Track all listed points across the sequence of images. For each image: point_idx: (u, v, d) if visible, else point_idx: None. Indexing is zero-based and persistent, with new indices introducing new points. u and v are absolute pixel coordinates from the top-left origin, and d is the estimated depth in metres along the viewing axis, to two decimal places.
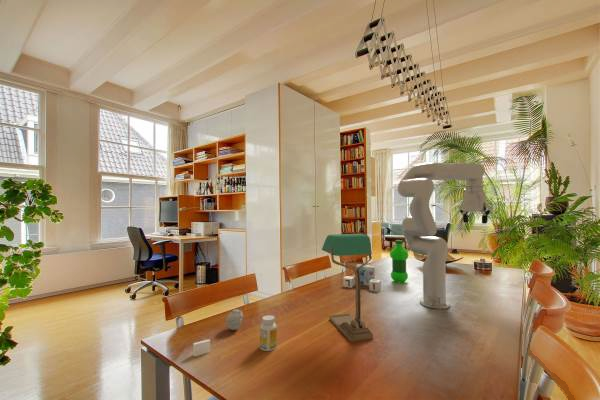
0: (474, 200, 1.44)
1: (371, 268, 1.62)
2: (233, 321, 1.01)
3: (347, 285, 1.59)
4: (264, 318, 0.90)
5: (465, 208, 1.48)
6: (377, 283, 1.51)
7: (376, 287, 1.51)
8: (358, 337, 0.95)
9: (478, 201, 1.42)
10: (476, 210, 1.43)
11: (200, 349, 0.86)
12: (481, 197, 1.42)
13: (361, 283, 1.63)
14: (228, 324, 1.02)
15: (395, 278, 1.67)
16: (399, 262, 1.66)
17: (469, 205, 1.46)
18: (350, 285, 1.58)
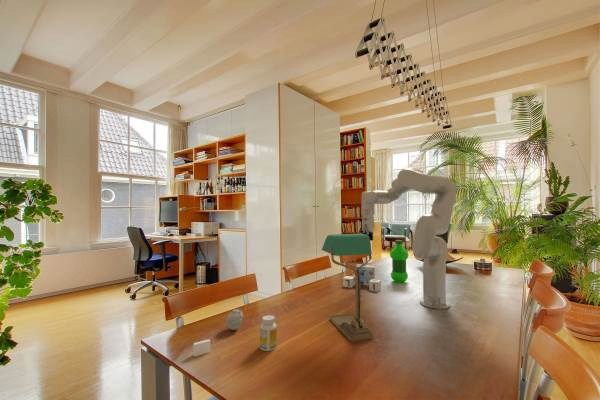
0: (373, 221, 1.66)
1: (371, 268, 1.62)
2: (233, 321, 1.01)
3: (347, 285, 1.59)
4: (264, 318, 0.90)
5: (371, 228, 1.62)
6: (377, 283, 1.51)
7: (376, 287, 1.51)
8: (358, 337, 0.95)
9: None
10: (373, 230, 1.66)
11: (200, 349, 0.86)
12: None
13: (361, 283, 1.63)
14: (228, 324, 1.02)
15: (395, 278, 1.67)
16: (399, 262, 1.66)
17: (372, 226, 1.63)
18: (350, 285, 1.58)
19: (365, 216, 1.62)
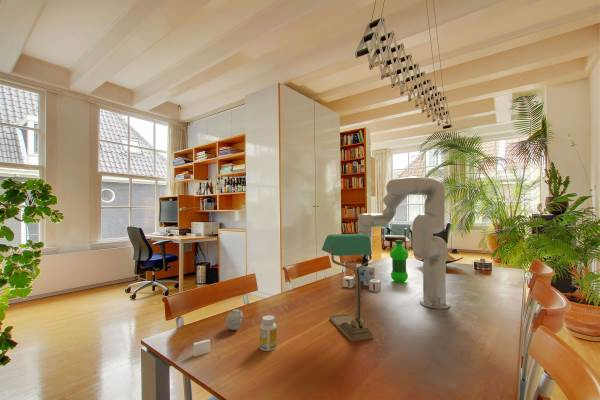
0: None
1: (371, 268, 1.62)
2: (233, 321, 1.01)
3: (347, 285, 1.59)
4: (264, 318, 0.90)
5: None
6: (377, 283, 1.51)
7: (376, 287, 1.51)
8: (358, 337, 0.95)
9: None
10: None
11: (200, 349, 0.86)
12: None
13: (361, 283, 1.63)
14: (228, 324, 1.02)
15: (395, 278, 1.66)
16: (399, 262, 1.66)
17: None
18: (350, 285, 1.58)
19: None
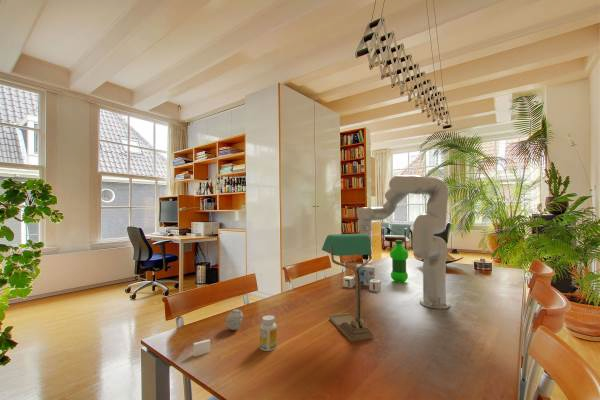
0: (370, 237, 1.66)
1: (371, 268, 1.62)
2: (233, 321, 1.01)
3: (347, 285, 1.59)
4: (264, 318, 0.90)
5: None
6: (377, 283, 1.51)
7: (376, 287, 1.51)
8: (358, 337, 0.95)
9: None
10: None
11: (200, 349, 0.86)
12: None
13: (361, 283, 1.63)
14: (228, 324, 1.02)
15: (395, 278, 1.67)
16: (399, 262, 1.66)
17: None
18: (350, 285, 1.58)
19: (362, 232, 1.62)
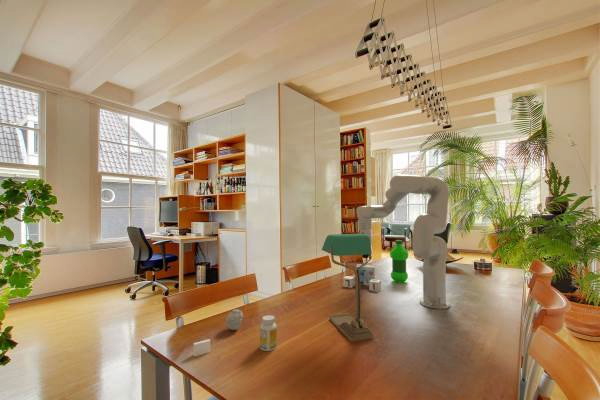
0: (370, 235, 1.66)
1: (371, 268, 1.62)
2: (233, 321, 1.01)
3: (347, 285, 1.59)
4: (264, 318, 0.90)
5: None
6: (377, 283, 1.51)
7: (376, 287, 1.51)
8: (358, 337, 0.95)
9: None
10: None
11: (200, 349, 0.86)
12: None
13: (361, 283, 1.63)
14: (228, 324, 1.02)
15: (395, 278, 1.67)
16: (399, 262, 1.66)
17: None
18: (350, 285, 1.58)
19: (362, 231, 1.62)
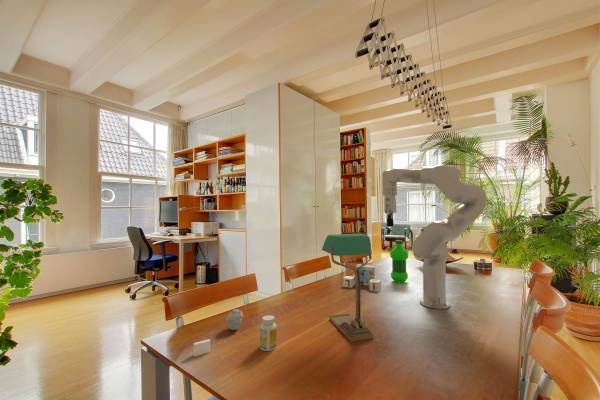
0: (395, 202, 1.53)
1: (371, 268, 1.62)
2: (233, 321, 1.01)
3: (347, 285, 1.59)
4: (264, 318, 0.90)
5: (394, 210, 1.49)
6: (377, 283, 1.51)
7: (376, 287, 1.51)
8: (358, 337, 0.95)
9: None
10: (395, 212, 1.54)
11: (200, 349, 0.86)
12: None
13: (361, 283, 1.63)
14: (228, 324, 1.02)
15: (395, 278, 1.67)
16: (399, 262, 1.66)
17: (394, 207, 1.51)
18: (350, 285, 1.58)
19: (387, 196, 1.49)
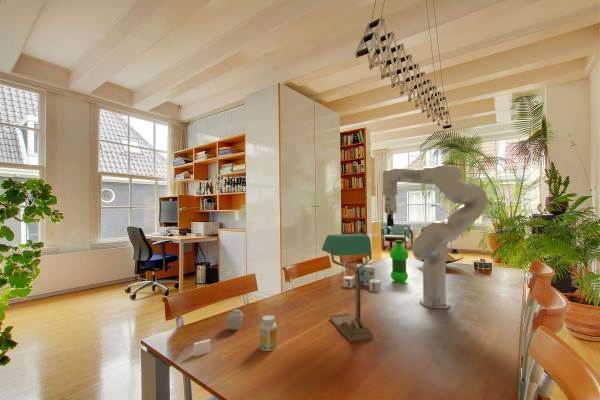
0: (395, 202, 1.53)
1: (371, 268, 1.62)
2: (233, 321, 1.01)
3: (347, 285, 1.59)
4: (264, 318, 0.90)
5: (394, 209, 1.49)
6: (377, 283, 1.51)
7: (376, 287, 1.51)
8: (358, 337, 0.95)
9: None
10: (396, 211, 1.53)
11: (200, 349, 0.86)
12: None
13: (361, 283, 1.63)
14: (228, 324, 1.02)
15: (395, 278, 1.67)
16: (399, 262, 1.66)
17: (395, 207, 1.50)
18: (350, 285, 1.58)
19: (388, 196, 1.49)
